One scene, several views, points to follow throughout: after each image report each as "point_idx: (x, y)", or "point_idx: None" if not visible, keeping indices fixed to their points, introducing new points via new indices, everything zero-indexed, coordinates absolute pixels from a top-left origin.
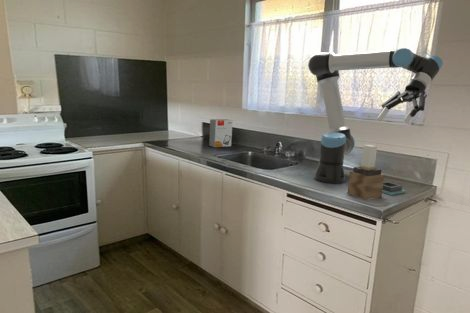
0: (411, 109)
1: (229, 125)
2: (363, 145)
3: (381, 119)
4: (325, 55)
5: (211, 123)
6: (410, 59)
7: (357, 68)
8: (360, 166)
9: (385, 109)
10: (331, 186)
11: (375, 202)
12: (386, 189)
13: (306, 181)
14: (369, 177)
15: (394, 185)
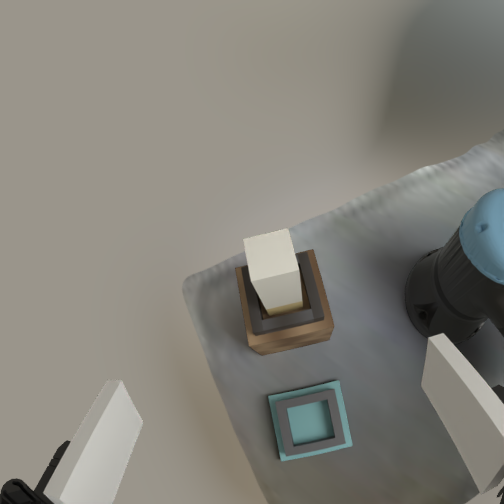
0: (59, 474)
1: None
2: (286, 229)
3: (428, 383)
4: None
5: None
6: None
7: None
8: (313, 283)
9: (491, 434)
10: (378, 265)
11: (226, 304)
12: (291, 398)
13: (424, 221)
14: (236, 273)
15: (307, 443)
